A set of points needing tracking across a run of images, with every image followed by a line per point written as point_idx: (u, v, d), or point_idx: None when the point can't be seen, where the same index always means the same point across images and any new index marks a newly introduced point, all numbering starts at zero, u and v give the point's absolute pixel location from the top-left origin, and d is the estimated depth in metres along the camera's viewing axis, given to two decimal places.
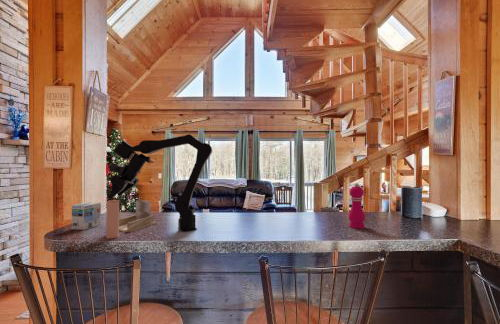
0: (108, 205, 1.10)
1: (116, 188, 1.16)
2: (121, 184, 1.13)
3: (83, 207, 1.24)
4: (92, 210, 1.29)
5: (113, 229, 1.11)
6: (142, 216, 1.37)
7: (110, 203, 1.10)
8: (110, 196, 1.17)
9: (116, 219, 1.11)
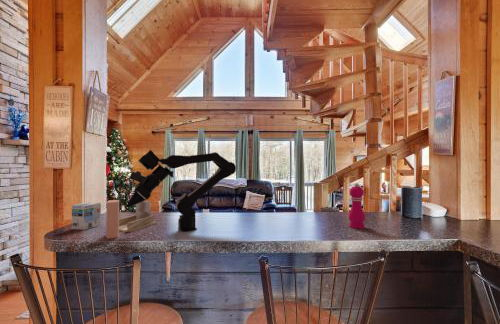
0: (108, 205, 1.10)
1: (137, 198, 1.11)
2: (147, 196, 1.09)
3: (83, 207, 1.24)
4: (92, 210, 1.29)
5: (113, 229, 1.11)
6: (142, 216, 1.37)
7: (110, 203, 1.10)
8: (128, 205, 1.11)
9: (116, 219, 1.11)
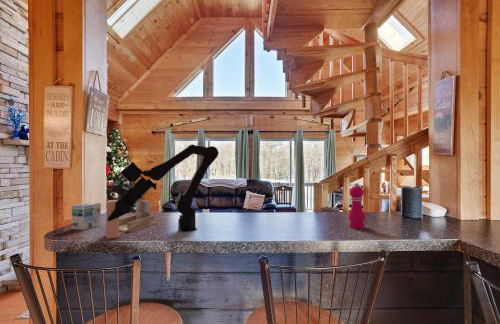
0: (108, 205, 1.10)
1: (118, 211, 1.10)
2: (128, 210, 1.07)
3: (83, 207, 1.24)
4: (92, 210, 1.29)
5: (113, 229, 1.11)
6: (142, 216, 1.37)
7: (110, 203, 1.10)
8: (109, 219, 1.10)
9: (116, 219, 1.11)
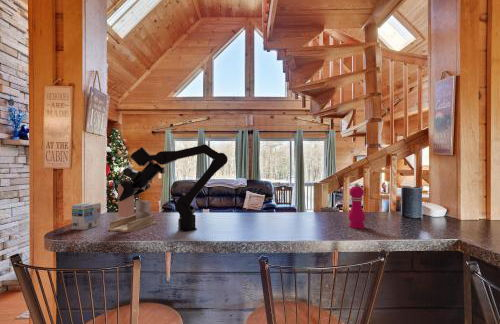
0: (119, 187, 1.20)
1: (127, 193, 1.19)
2: (130, 191, 1.14)
3: (83, 207, 1.24)
4: (92, 210, 1.29)
5: (124, 208, 1.20)
6: (142, 216, 1.37)
7: None
8: (120, 199, 1.20)
9: (126, 200, 1.20)
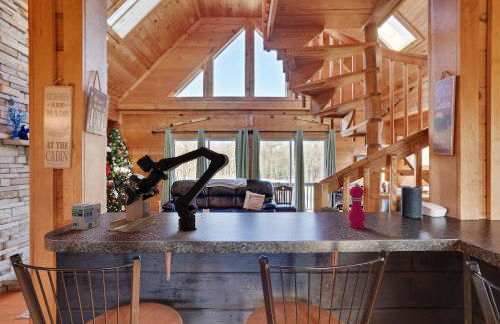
0: None
1: None
2: (132, 197, 1.19)
3: (83, 207, 1.24)
4: (92, 210, 1.29)
5: (130, 213, 1.26)
6: None
7: None
8: (127, 204, 1.26)
9: (132, 204, 1.26)
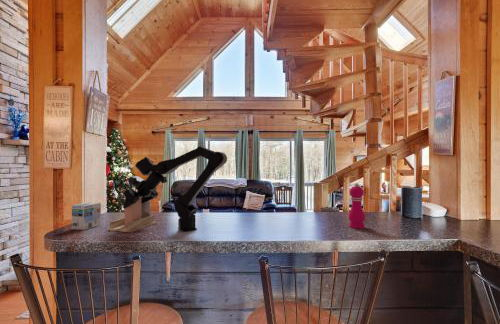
0: (125, 197, 1.27)
1: (129, 201, 1.24)
2: (130, 199, 1.19)
3: (83, 207, 1.24)
4: (92, 210, 1.29)
5: (129, 218, 1.27)
6: (142, 216, 1.37)
7: None
8: (123, 206, 1.25)
9: (131, 210, 1.26)
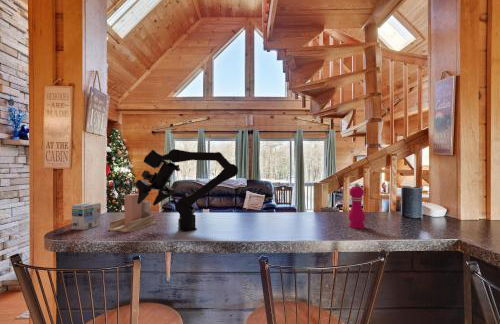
0: (125, 197, 1.27)
1: (142, 193, 1.19)
2: (142, 188, 1.15)
3: (83, 207, 1.24)
4: (92, 210, 1.29)
5: (129, 218, 1.27)
6: (142, 216, 1.37)
7: (127, 196, 1.27)
8: (138, 201, 1.20)
9: (131, 210, 1.26)
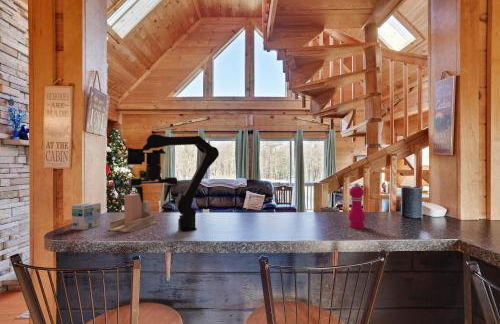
0: (125, 197, 1.27)
1: (139, 190, 1.15)
2: (130, 183, 1.12)
3: (83, 207, 1.24)
4: (92, 210, 1.29)
5: (129, 218, 1.27)
6: (142, 216, 1.37)
7: (127, 196, 1.27)
8: (141, 201, 1.16)
9: (131, 210, 1.26)
